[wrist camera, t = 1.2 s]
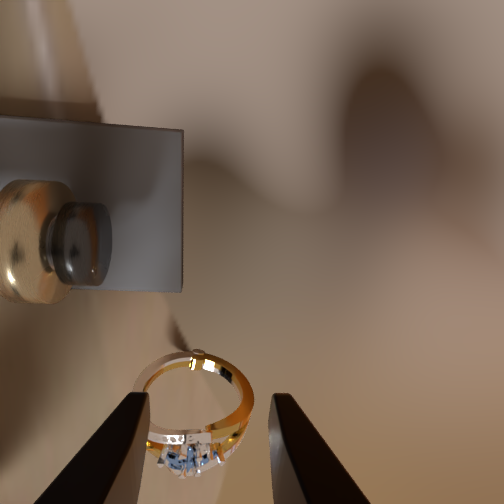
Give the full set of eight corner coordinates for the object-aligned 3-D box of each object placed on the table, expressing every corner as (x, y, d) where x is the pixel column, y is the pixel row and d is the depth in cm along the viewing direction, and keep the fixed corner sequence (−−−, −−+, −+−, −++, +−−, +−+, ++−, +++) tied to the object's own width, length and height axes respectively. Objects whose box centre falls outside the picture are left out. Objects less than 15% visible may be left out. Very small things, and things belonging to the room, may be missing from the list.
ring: (252, 343, 24) (265, 454, 17) (242, 378, 25) (249, 495, 18) (148, 327, 23) (113, 439, 16) (142, 364, 24) (108, 484, 17)
